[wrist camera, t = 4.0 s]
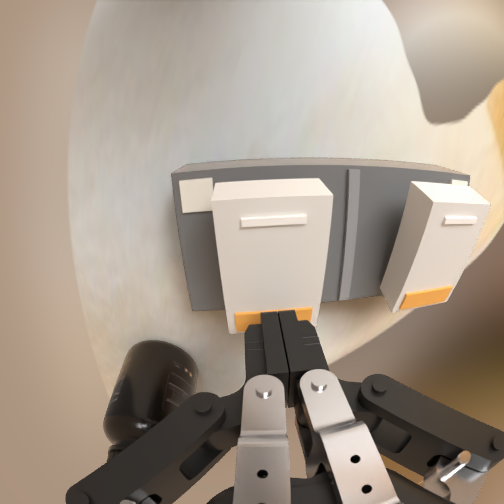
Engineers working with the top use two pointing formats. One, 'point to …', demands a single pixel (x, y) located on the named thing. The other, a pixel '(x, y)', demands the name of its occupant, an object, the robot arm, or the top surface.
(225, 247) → the block
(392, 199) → the switch panel
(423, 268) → the rocker
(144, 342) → the supplement bottle
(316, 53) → the top surface
